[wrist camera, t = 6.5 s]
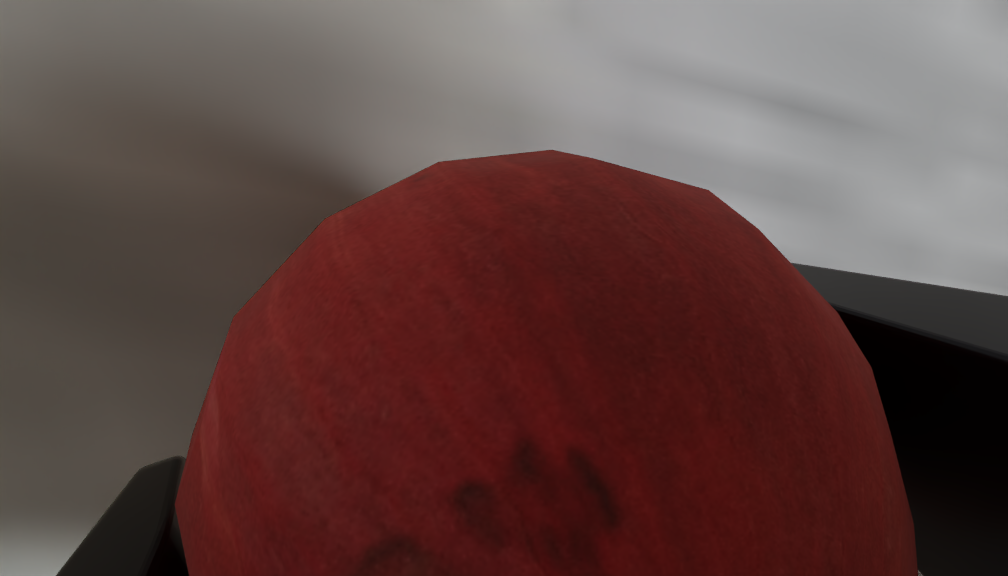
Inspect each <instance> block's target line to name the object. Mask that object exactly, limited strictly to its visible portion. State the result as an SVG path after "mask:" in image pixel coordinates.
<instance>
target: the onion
mask: <svg viewBox="0 0 1008 576" xmlns="http://www.w3.org/2000/svg"><path fill="white" fill-rule="evenodd" d="M175 508H176V513H177V518H178V523H179V528H180V533H181V538H182V543H183V548H184V553H185V558H186V563H187V568H188V573H189V576H918V569H917V557H916V545H915V533H914V523H913V519H912V515H911V511H910V507H909V503H908V499H907V495H906V491H905V487H904V484H903V480H902V476H901V472H900V468H899V464H898V460H897V456H896V452H895V448H894V444H893V440H892V436H891V432H890V429H889V425H888V422H887V419H886V415H885V412H884V408H883V405H882V402H881V398H880V395H879V391H878V388H877V385H876V381H875V378H874V375H873V371H872V368H871V366H870V364H869V363H868V361H867V359H866V358H865V356H864V355H863V353H862V351H861V350H860V348H859V347H858V345H857V343H856V342H855V340H854V339H853V337H852V335H851V334H850V332H849V330H848V329H847V327H846V326H845V324H844V322H843V321H842V319H841V318H840V316H839V314H838V313H837V311H836V310H835V309H834V308H833V307H832V306H831V305H830V304H829V303H828V302H827V301H826V300H825V299H824V298H823V297H822V296H821V295H820V294H819V292H818V291H817V290H816V289H815V288H814V287H813V286H812V285H811V284H810V283H809V282H808V281H807V280H806V279H805V278H804V277H803V276H802V275H801V274H800V272H799V271H798V270H797V269H796V268H795V267H794V266H793V265H792V264H791V263H790V262H789V261H788V260H787V259H786V258H785V257H784V256H783V255H782V253H781V252H780V251H779V250H778V249H777V248H776V247H775V246H774V245H773V244H772V243H771V242H770V241H769V240H768V239H767V238H766V237H765V236H764V235H763V233H762V232H761V231H760V230H759V229H758V228H756V227H755V226H754V225H753V224H751V223H750V222H749V221H747V220H746V219H745V218H744V217H742V216H741V215H740V214H738V213H737V212H736V211H735V210H733V209H732V208H731V207H729V206H728V205H727V204H726V203H724V202H723V201H722V200H720V199H719V198H718V197H717V196H715V195H714V194H713V193H711V192H710V191H709V190H706V189H702V188H699V187H695V186H691V185H688V184H684V183H680V182H677V181H673V180H669V179H666V178H662V177H659V176H655V175H651V174H648V173H644V172H640V171H637V170H633V169H630V168H626V167H622V166H619V165H615V164H611V163H608V162H604V161H601V160H597V159H593V158H589V157H584V156H579V155H574V154H569V153H564V152H560V151H555V150H546V151H537V152H527V153H518V154H509V155H499V156H490V157H481V158H471V159H462V160H452V161H443V162H438V163H436V164H434V165H432V166H430V167H428V168H426V169H424V170H422V171H420V172H418V173H416V174H414V175H412V176H410V177H408V178H406V179H404V180H402V181H400V182H398V183H396V184H394V185H391V186H389V187H387V188H385V189H383V190H381V191H379V192H377V193H375V194H373V195H371V196H369V197H367V198H365V199H363V200H361V201H359V202H357V203H355V204H353V205H351V206H349V207H347V208H345V209H343V210H341V211H339V212H337V213H335V214H333V215H331V216H329V217H327V218H325V219H324V220H323V221H322V223H321V224H320V225H319V226H318V227H317V228H316V229H315V230H314V231H313V232H312V233H311V234H310V235H309V236H308V238H307V239H306V240H305V241H304V242H303V243H302V244H301V245H300V246H299V247H298V248H297V249H296V250H295V252H294V253H293V254H292V255H291V256H290V257H289V258H288V259H287V260H286V261H285V262H284V263H283V264H282V265H281V267H280V268H279V269H278V270H277V271H276V272H275V273H274V274H273V275H272V276H271V277H270V278H269V279H268V280H267V282H266V283H265V284H264V285H263V286H262V287H261V288H260V289H259V290H258V291H257V292H256V293H255V294H254V296H253V297H252V298H251V299H250V300H249V301H248V302H247V303H246V304H245V305H244V306H243V307H242V308H241V309H240V311H239V312H238V313H237V314H236V315H235V316H234V317H233V320H232V323H231V326H230V329H229V331H228V334H227V337H226V340H225V343H224V346H223V349H222V351H221V354H220V357H219V360H218V363H217V366H216V368H215V371H214V374H213V377H212V380H211V383H210V386H209V388H208V391H207V394H206V397H205V400H204V403H203V405H202V408H201V411H200V414H199V417H198V420H197V423H196V425H195V428H194V431H193V434H192V438H191V442H190V446H189V450H188V454H187V458H186V462H185V466H184V470H183V473H182V477H181V481H180V485H179V489H178V493H177V497H176V501H175Z"/></svg>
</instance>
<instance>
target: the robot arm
mask: <svg viewBox="0 0 1008 576" xmlns="http://www.w3.org/2000/svg"><path fill="white" fill-rule="evenodd" d="M791 264H792V265H793V266H794V267H795V268H796V269H797V270H798V271H799V272H800V274H801V275H802V276H803V277H804V278H805V279H806V280H807V281H808V282H809V283H810V284H811V285H812V286H813V287H814V288H815V289H816V290H817V291H818V292H819V294H820V295H821V296H822V297H823V298H824V299H825V300H826V301H827V302H828V303H829V304H830V305H831V306H832V307H833V308H834V309H835V310H836V311H837V313H838V314H839V316H840V318H841V319H842V321H843V322H844V324H845V326H846V327H847V329H848V330H849V332H850V334H851V335H852V337H853V339H854V340H855V342H856V343H857V345H858V347H859V348H860V350H861V351H862V353H863V355H864V356H865V358H866V359H867V361H868V363H869V364H870V366H871V368H872V371H873V375H874V378H875V381H876V385H877V388H878V391H879V395H880V398H881V402H882V405H883V408H884V412H885V415H886V419H887V422H888V425H889V429H890V432H891V436H892V440H893V444H894V448H895V452H896V456H897V460H898V464H899V468H900V472H901V476H902V480H903V484H904V487H905V491H906V495H907V499H908V503H909V507H910V511H911V515H912V519H913V523H914V533H915V545H916V557H917V569H918V570H919V571H920V572H921V574H922V575H923V576H1008V296H1003V295H997V294H990V293H984V292H977V291H971V290H964V289H958V288H951V287H945V286H938V285H932V284H925V283H919V282H912V281H906V280H899V279H893V278H886V277H880V276H873V275H867V274H860V273H854V272H847V271H841V270H834V269H828V268H821V267H815V266H808V265H802V264H795V263H791ZM185 462H186V459H185V458H184V457H182V456H174V457H171V458H168V459H165V460H162V461H160V462H157V463H154V464H151V465H148V466H145V467H143V468H141V469H140V470H139V471H138V472H137V473H136V474H135V475H134V476H133V478H132V479H131V480H130V481H129V483H128V484H127V485H126V487H125V488H124V489H123V490H122V492H121V493H120V494H119V496H118V497H117V498H116V499H115V501H114V502H113V503H112V504H111V506H110V507H109V508H108V510H107V511H106V512H105V513H104V515H103V516H102V517H101V519H100V520H99V521H98V522H97V524H96V525H95V526H94V527H93V529H92V530H91V531H90V533H89V534H88V535H87V536H86V538H85V539H84V540H83V542H82V543H81V544H80V545H79V547H78V548H77V549H76V551H75V552H74V553H73V554H72V556H71V557H70V558H69V559H68V561H67V562H66V563H65V565H64V566H63V567H62V568H61V570H60V571H59V572H58V574H57V575H56V576H189V573H188V568H187V563H186V558H185V553H184V548H183V543H182V538H181V533H180V528H179V523H178V518H177V513H176V508H175V501H176V497H177V493H178V489H179V485H180V481H181V477H182V473H183V470H184V466H185Z"/></svg>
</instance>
